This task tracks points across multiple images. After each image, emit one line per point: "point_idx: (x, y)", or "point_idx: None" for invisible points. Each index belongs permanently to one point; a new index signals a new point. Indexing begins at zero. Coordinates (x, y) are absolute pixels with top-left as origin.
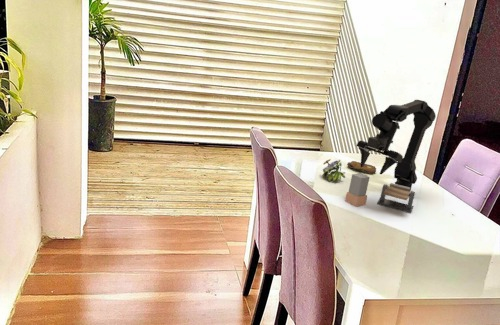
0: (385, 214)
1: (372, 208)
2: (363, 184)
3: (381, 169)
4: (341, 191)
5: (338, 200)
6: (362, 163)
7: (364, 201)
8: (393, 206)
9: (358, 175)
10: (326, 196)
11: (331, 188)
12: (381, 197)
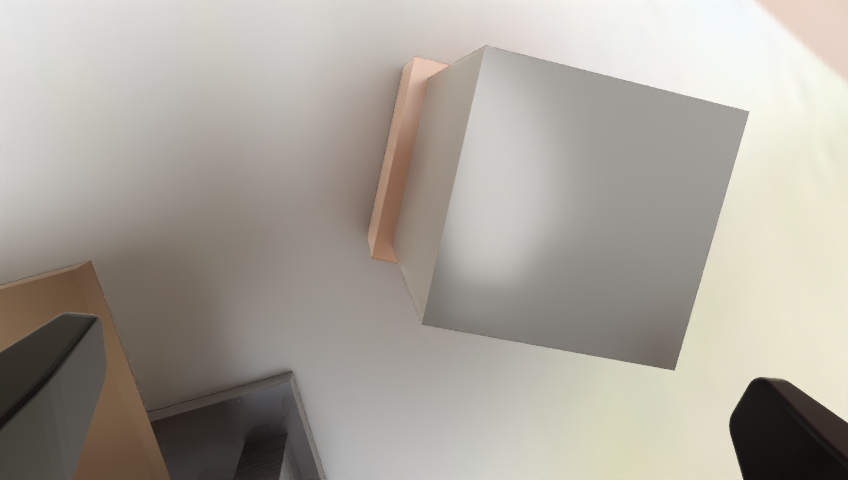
0: (62, 164)
1: (255, 198)
2: (437, 153)
3: (17, 393)
4: (725, 351)
5: (623, 54)
6: (816, 442)
7: (375, 210)
8: None
9: (624, 173)
10: (767, 40)
11: (836, 328)
12: (269, 460)
